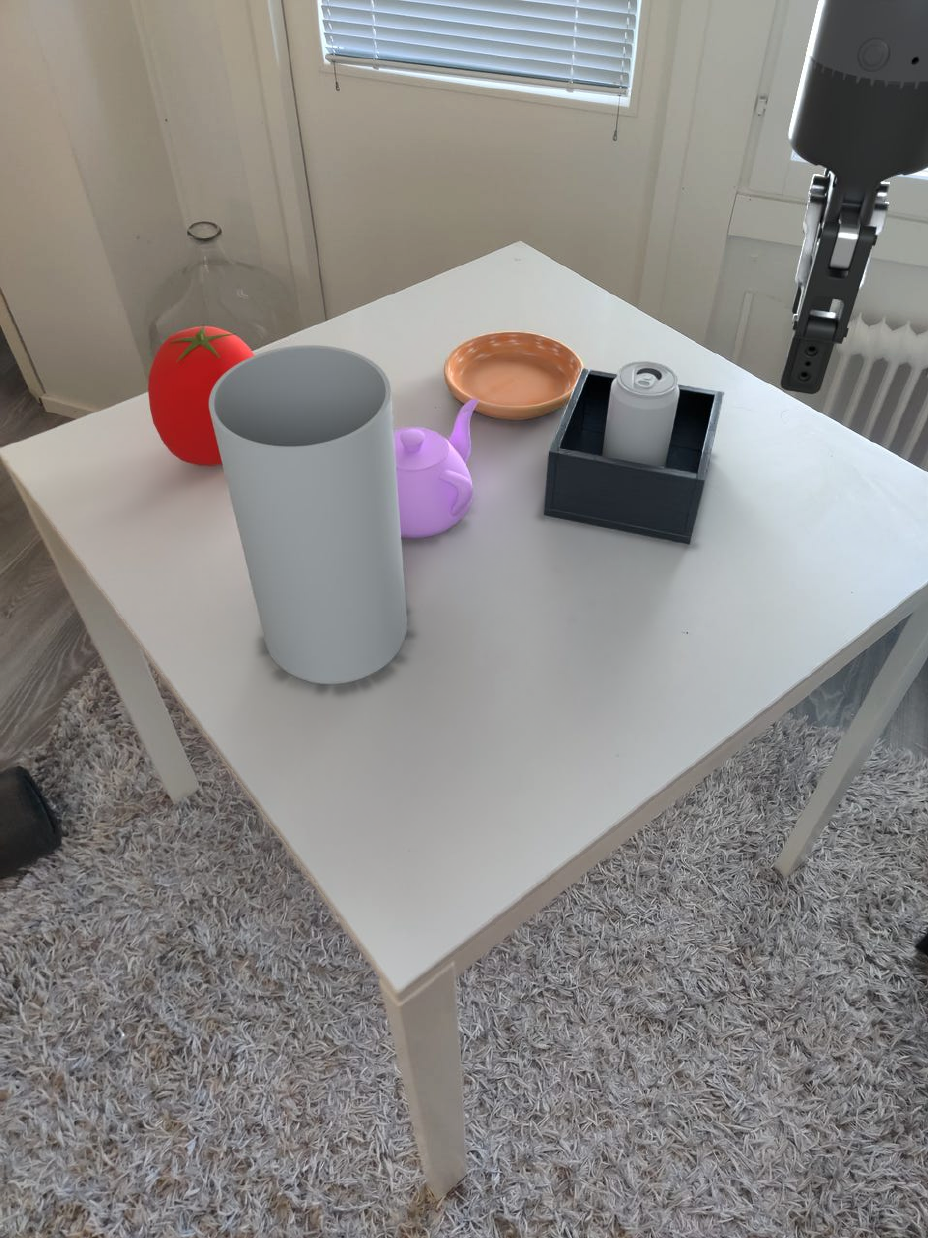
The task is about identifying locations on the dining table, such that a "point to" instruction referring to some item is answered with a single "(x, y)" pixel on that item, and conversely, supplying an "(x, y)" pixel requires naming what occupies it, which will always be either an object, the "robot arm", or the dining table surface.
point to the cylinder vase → (316, 506)
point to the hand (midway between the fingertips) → (804, 350)
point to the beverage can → (641, 413)
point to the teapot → (433, 476)
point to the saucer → (513, 374)
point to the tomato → (191, 389)
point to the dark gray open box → (630, 466)
